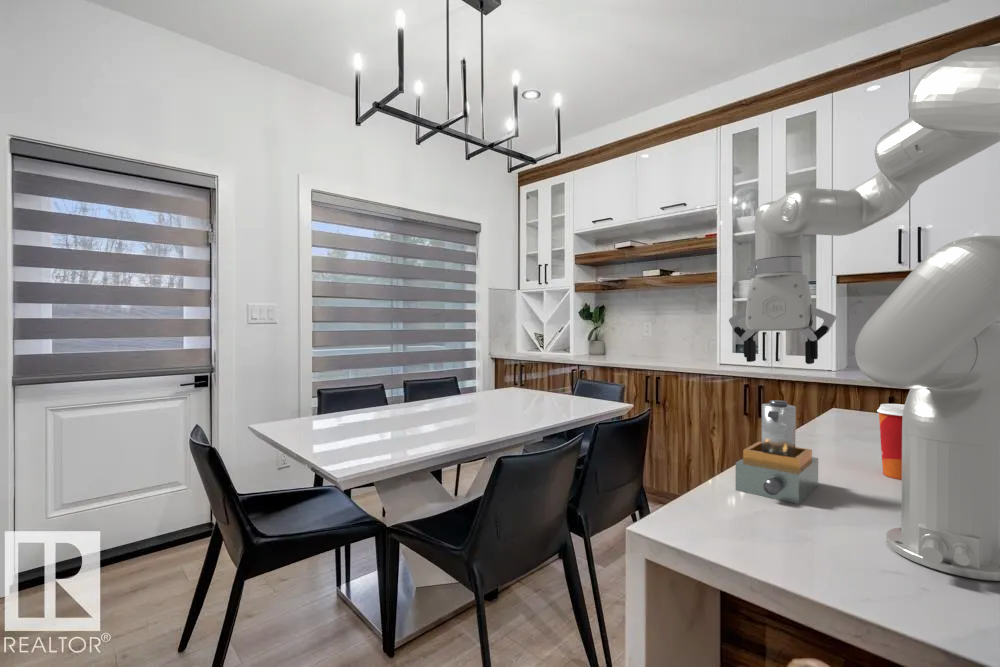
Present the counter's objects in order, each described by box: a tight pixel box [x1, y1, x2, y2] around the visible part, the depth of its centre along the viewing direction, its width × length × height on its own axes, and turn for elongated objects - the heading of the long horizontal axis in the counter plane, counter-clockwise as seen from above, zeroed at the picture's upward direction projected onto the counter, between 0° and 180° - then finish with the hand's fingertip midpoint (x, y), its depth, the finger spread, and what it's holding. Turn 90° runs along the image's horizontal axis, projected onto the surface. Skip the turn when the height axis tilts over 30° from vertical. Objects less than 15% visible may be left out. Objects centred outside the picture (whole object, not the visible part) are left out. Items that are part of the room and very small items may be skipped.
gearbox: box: [735, 441, 819, 505], centre depth 87 cm, size 16×10×7 cm, turn 135°
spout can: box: [761, 399, 797, 457], centre depth 87 cm, size 7×5×11 cm
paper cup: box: [876, 403, 905, 481], centre depth 93 cm, size 8×8×14 cm
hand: (779, 362), depth 87 cm, fingers open, 9 cm apart
